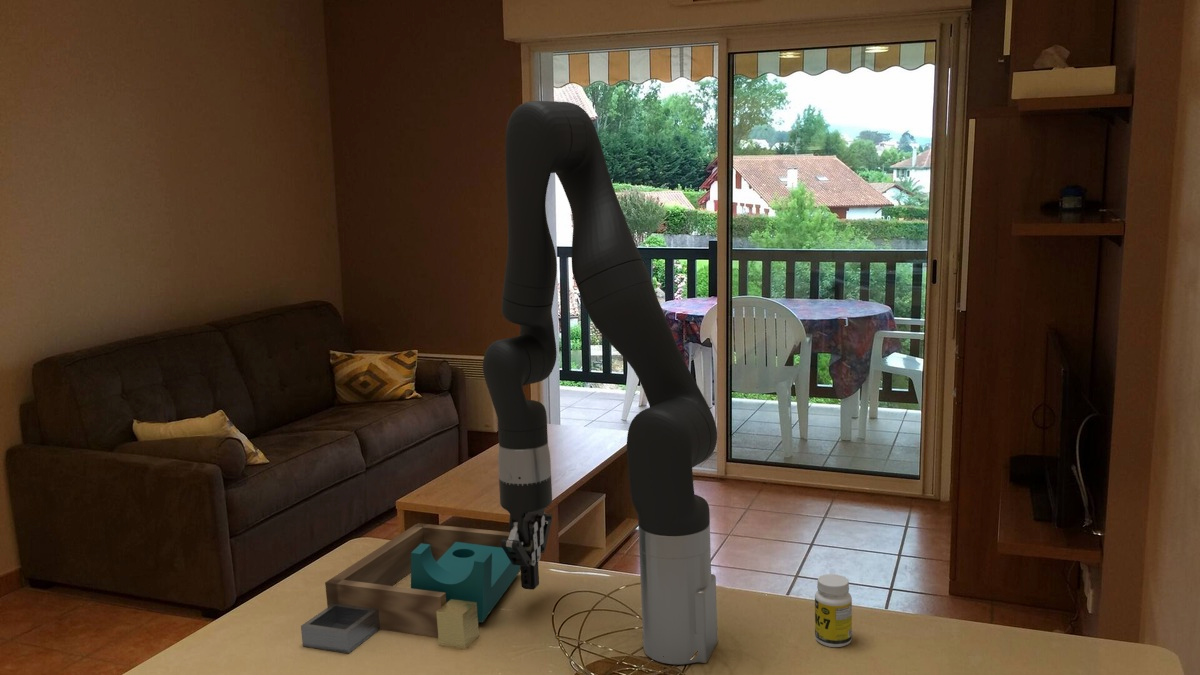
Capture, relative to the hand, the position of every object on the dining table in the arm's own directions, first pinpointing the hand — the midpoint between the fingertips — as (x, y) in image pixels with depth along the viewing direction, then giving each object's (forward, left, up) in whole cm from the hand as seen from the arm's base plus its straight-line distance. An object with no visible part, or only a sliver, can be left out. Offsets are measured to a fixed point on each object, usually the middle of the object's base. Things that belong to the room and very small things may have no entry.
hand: (530, 586), depth 141 cm
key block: (+5, +13, -3) cm, 14 cm away
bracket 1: (+17, 0, -3) cm, 17 cm away
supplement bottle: (-43, -1, -3) cm, 44 cm away
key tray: (+22, +16, -3) cm, 27 cm away
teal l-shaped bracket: (+11, 0, -3) cm, 11 cm away
